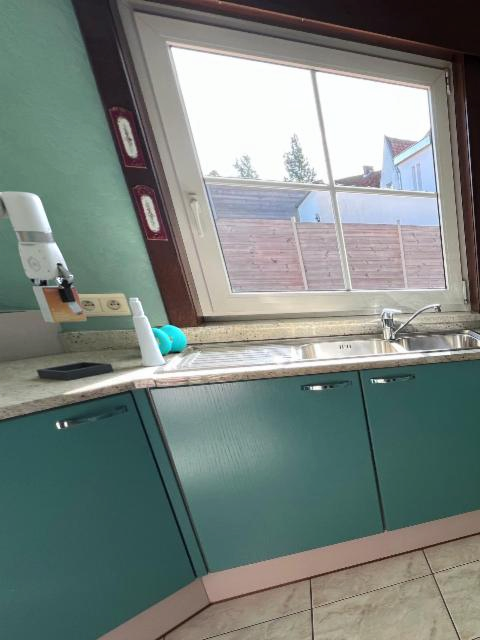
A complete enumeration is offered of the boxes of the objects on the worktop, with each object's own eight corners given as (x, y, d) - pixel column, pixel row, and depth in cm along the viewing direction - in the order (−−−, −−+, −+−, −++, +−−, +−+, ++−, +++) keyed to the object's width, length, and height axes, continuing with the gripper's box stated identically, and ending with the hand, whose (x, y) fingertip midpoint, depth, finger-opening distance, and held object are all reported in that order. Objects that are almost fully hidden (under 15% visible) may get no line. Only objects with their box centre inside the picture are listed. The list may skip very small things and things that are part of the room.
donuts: (143, 355, 182) (135, 328, 178) (167, 350, 191) (159, 324, 187) (170, 356, 181) (161, 328, 178) (191, 351, 191) (184, 325, 187)
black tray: (39, 378, 148) (36, 369, 147) (86, 369, 160) (83, 361, 159) (68, 380, 147) (65, 372, 146) (113, 371, 158) (111, 363, 157)
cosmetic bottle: (142, 364, 169) (121, 297, 161) (165, 362, 173) (145, 297, 164) (143, 367, 165) (121, 299, 156) (166, 364, 168) (146, 298, 160)
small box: (53, 323, 149) (40, 287, 145) (44, 321, 151) (30, 286, 147) (87, 320, 156) (75, 286, 152) (78, 319, 158) (66, 285, 154)
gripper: (-5, 237, 142) (20, 301, 149) (45, 239, 140) (68, 304, 147) (27, 238, 149) (50, 299, 156) (75, 240, 147) (96, 301, 153)
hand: (59, 301), depth 151 cm, fingers closed on small box, 6 cm apart
